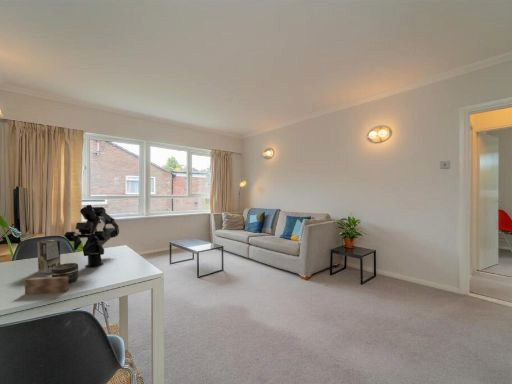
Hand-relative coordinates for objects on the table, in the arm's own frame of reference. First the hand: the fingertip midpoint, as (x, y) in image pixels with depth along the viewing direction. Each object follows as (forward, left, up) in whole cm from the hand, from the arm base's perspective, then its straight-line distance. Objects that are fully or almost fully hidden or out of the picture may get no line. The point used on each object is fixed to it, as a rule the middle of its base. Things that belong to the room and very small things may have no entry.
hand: (79, 249), depth 123 cm
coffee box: (-21, -2, -13) cm, 25 cm away
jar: (+4, -9, -13) cm, 16 cm away
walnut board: (+9, -19, -13) cm, 25 cm away
